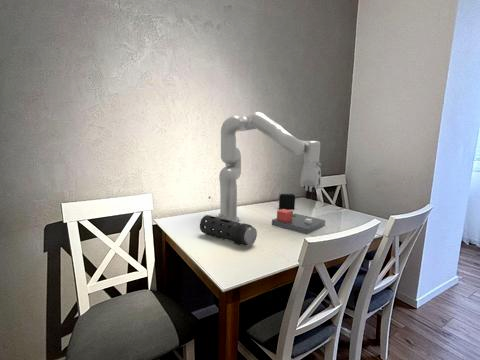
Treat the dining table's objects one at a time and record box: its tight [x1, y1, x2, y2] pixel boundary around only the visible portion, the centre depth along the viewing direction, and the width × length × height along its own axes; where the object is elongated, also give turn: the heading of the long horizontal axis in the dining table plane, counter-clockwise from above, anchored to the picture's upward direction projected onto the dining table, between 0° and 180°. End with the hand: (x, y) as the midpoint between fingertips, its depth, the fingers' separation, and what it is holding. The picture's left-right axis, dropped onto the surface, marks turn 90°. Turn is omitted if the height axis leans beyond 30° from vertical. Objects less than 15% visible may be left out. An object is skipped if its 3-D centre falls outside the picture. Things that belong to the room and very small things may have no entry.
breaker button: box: [305, 218, 312, 224], centre depth 158 cm, size 3×3×4 cm
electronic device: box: [278, 193, 296, 211], centre depth 196 cm, size 4×10×10 cm, turn 89°
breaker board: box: [271, 212, 326, 235], centre depth 162 cm, size 20×22×4 cm
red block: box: [276, 209, 294, 222], centre depth 162 cm, size 6×6×5 cm
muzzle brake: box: [199, 214, 258, 247], centre depth 137 cm, size 10×28×10 cm, turn 53°
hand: (309, 198), depth 156 cm, fingers closed
